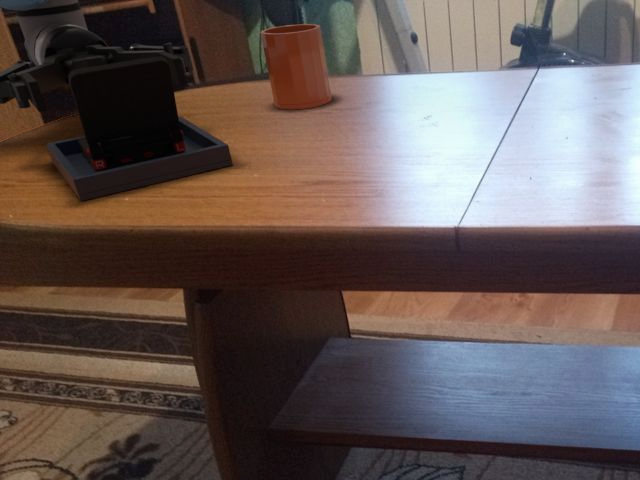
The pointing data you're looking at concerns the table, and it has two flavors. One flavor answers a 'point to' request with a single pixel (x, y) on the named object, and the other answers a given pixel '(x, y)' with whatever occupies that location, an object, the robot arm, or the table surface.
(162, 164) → the dark tray
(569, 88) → the table surface
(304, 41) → the terracotta cup
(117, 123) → the handheld gaming console
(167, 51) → the robot arm
